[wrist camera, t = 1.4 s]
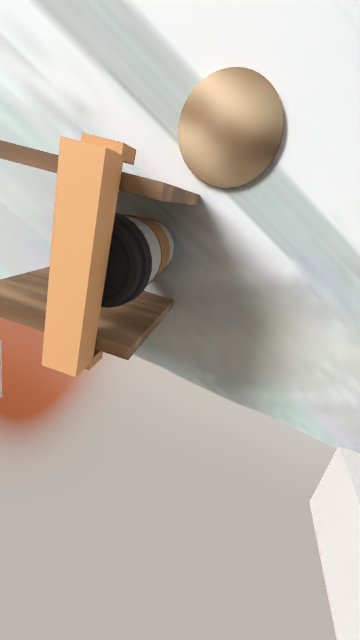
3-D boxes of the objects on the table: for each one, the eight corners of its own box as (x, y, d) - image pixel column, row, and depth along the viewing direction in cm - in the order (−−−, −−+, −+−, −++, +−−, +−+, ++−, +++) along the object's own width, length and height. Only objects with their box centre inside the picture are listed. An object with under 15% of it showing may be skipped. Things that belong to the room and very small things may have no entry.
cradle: (67, 160, 37) (-48, 127, 23) (199, 195, 35) (164, 182, 21) (57, 272, 43) (-42, 303, 28) (171, 308, 41) (127, 360, 26)
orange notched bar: (98, 140, 23) (61, 122, 18) (136, 149, 22) (107, 134, 18) (72, 348, 29) (41, 372, 25) (101, 357, 29) (74, 384, 24)
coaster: (193, 59, 31) (192, 57, 31) (299, 81, 30) (300, 79, 30) (169, 174, 35) (168, 174, 35) (262, 198, 34) (262, 198, 34)
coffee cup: (124, 279, 41) (59, 313, 27) (115, 213, 38) (39, 213, 24) (185, 277, 39) (148, 312, 25) (180, 208, 36) (137, 205, 23)
